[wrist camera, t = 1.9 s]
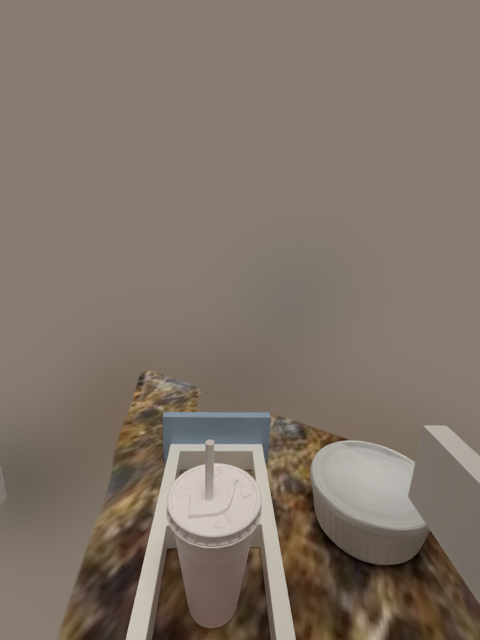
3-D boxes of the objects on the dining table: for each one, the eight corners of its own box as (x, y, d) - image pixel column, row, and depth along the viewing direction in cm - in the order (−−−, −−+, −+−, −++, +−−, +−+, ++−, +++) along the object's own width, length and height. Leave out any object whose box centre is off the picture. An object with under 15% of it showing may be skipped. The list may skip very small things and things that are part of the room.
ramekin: (417, 493, 37) (427, 451, 35) (446, 599, 26) (461, 546, 25) (311, 470, 40) (315, 430, 38) (299, 557, 29) (305, 507, 28)
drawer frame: (266, 456, 41) (269, 412, 40) (304, 666, 22) (314, 597, 20) (165, 457, 41) (164, 412, 39) (113, 673, 21) (106, 603, 20)
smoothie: (150, 606, 25) (142, 441, 21) (210, 544, 30) (212, 401, 26) (216, 677, 21) (220, 492, 17) (272, 594, 26) (286, 435, 22)
